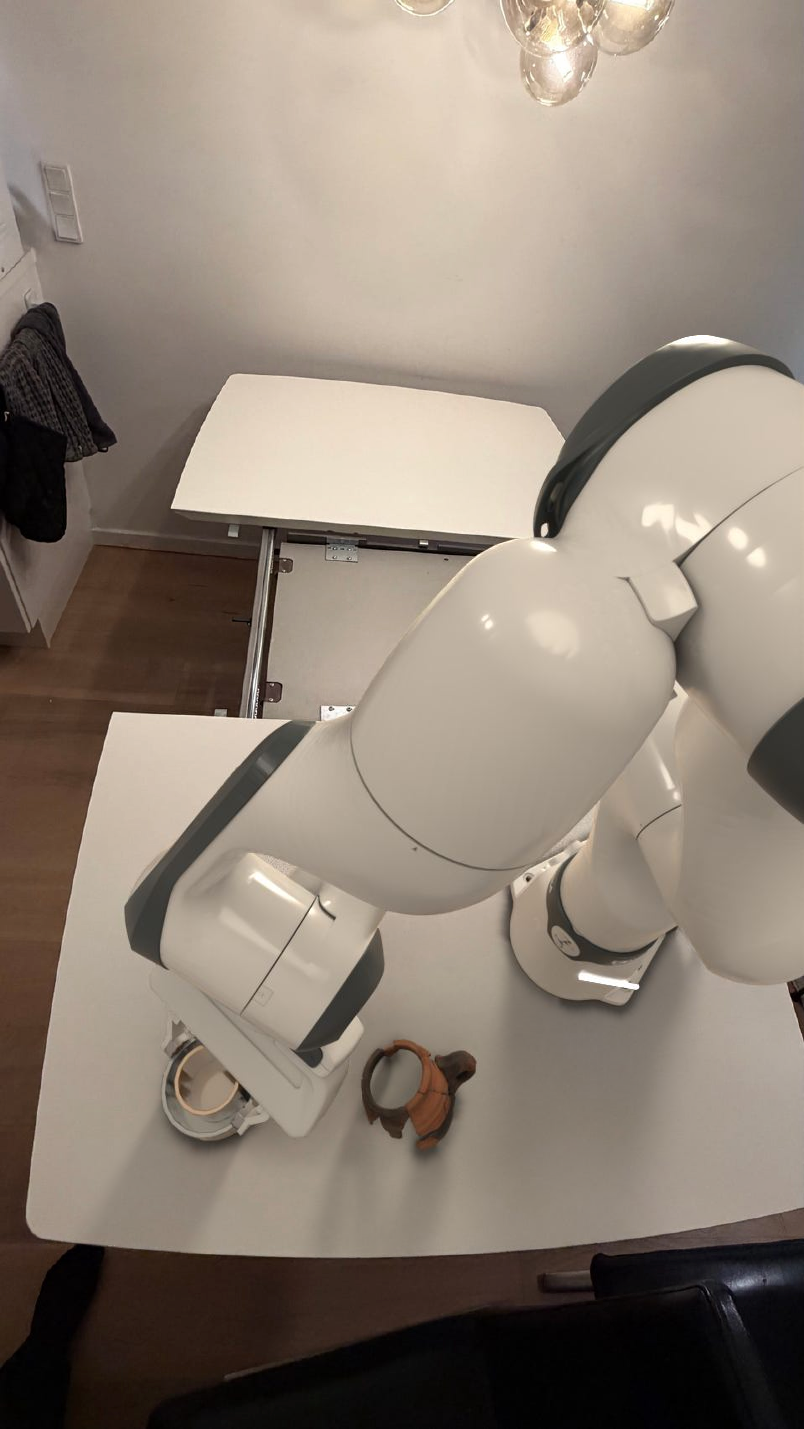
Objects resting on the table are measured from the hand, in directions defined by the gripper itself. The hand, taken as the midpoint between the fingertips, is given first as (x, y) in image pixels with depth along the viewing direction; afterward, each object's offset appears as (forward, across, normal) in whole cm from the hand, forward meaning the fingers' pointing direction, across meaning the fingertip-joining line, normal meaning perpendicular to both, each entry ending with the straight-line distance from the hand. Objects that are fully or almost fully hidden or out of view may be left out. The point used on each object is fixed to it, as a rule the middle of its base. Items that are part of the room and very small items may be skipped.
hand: (203, 1087), depth 62 cm
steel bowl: (+5, 0, +6) cm, 7 cm away
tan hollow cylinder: (+4, 0, +5) cm, 7 cm away
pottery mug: (-4, +16, +15) cm, 22 cm away
